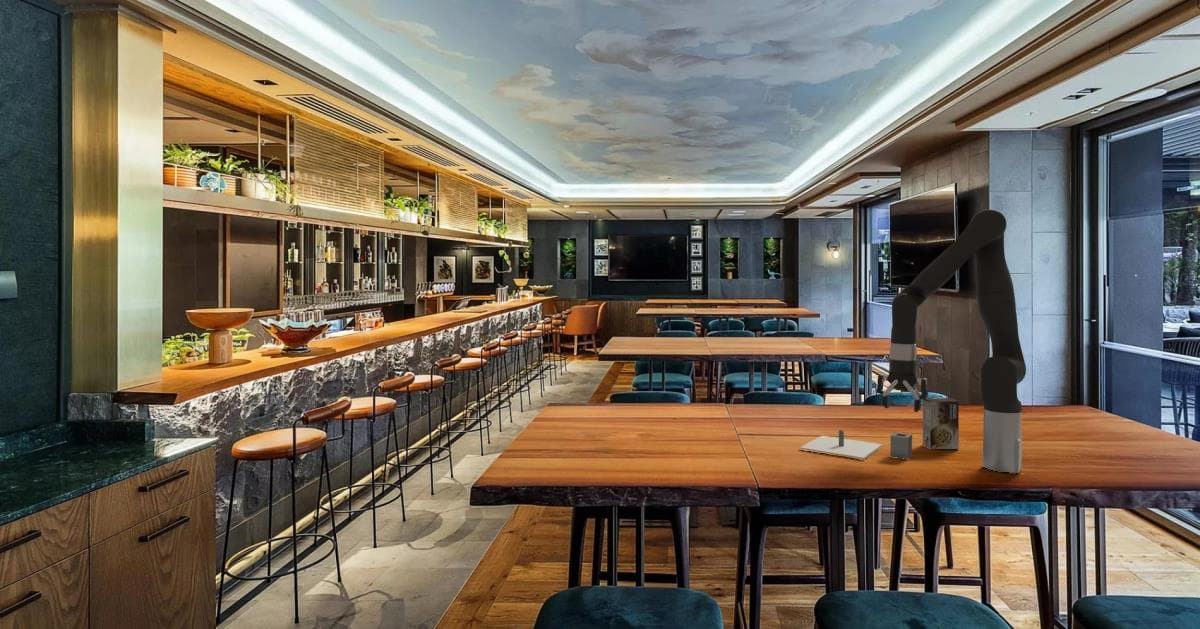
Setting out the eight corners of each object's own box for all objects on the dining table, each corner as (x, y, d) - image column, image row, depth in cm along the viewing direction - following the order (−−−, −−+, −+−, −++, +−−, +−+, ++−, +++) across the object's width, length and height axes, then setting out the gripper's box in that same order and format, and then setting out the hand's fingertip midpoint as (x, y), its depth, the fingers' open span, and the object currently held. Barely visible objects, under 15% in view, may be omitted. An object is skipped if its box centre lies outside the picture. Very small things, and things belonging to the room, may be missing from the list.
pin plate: (882, 447, 209) (882, 428, 208) (863, 460, 193) (863, 440, 193) (821, 438, 221) (822, 420, 221) (799, 450, 206) (799, 431, 206)
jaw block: (911, 456, 197) (912, 434, 197) (907, 460, 193) (908, 437, 193) (894, 454, 200) (894, 432, 200) (890, 457, 196) (890, 435, 196)
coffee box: (950, 445, 210) (950, 397, 210) (959, 450, 204) (960, 400, 203) (921, 445, 211) (922, 397, 211) (929, 450, 205) (930, 400, 204)
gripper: (931, 358, 194) (929, 410, 195) (882, 354, 203) (880, 404, 204) (925, 361, 188) (923, 415, 189) (875, 357, 197) (873, 408, 198)
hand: (901, 409), depth 196 cm, fingers open, 8 cm apart
